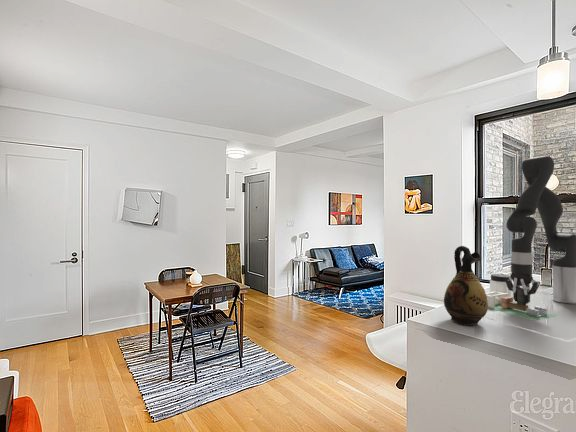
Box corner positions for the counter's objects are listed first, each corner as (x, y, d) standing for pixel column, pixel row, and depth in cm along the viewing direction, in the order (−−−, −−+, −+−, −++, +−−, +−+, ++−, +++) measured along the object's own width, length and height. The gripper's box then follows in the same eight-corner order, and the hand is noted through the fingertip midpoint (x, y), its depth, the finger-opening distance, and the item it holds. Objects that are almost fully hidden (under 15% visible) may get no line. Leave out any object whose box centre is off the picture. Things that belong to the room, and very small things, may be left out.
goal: (495, 301, 157) (495, 290, 157) (509, 305, 151) (509, 293, 151) (479, 304, 152) (479, 292, 152) (493, 308, 146) (493, 295, 146)
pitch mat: (497, 302, 158) (497, 300, 158) (557, 316, 135) (557, 315, 135) (475, 305, 151) (475, 304, 151) (534, 321, 129) (534, 320, 129)
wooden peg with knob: (508, 306, 148) (508, 284, 148) (530, 311, 140) (530, 288, 140) (501, 307, 146) (501, 285, 146) (523, 312, 138) (523, 289, 138)
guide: (536, 313, 138) (536, 306, 138) (546, 315, 135) (546, 308, 135) (526, 315, 136) (526, 308, 136) (537, 317, 132) (537, 310, 132)
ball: (495, 293, 153) (503, 300, 150) (491, 299, 155) (498, 306, 152) (490, 294, 151) (497, 301, 148) (485, 300, 153) (492, 307, 150)
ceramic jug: (498, 327, 122) (498, 248, 122) (461, 330, 120) (461, 249, 120) (466, 314, 139) (466, 244, 139) (433, 316, 136) (433, 244, 136)
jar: (505, 302, 158) (505, 277, 158) (487, 298, 165) (487, 275, 165) (513, 299, 163) (513, 275, 163) (495, 296, 170) (495, 273, 170)
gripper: (544, 264, 136) (545, 305, 136) (509, 260, 149) (509, 297, 149) (534, 265, 133) (534, 307, 133) (499, 261, 145) (499, 299, 145)
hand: (521, 302), depth 141 cm, fingers closed on wooden peg with knob, 3 cm apart
